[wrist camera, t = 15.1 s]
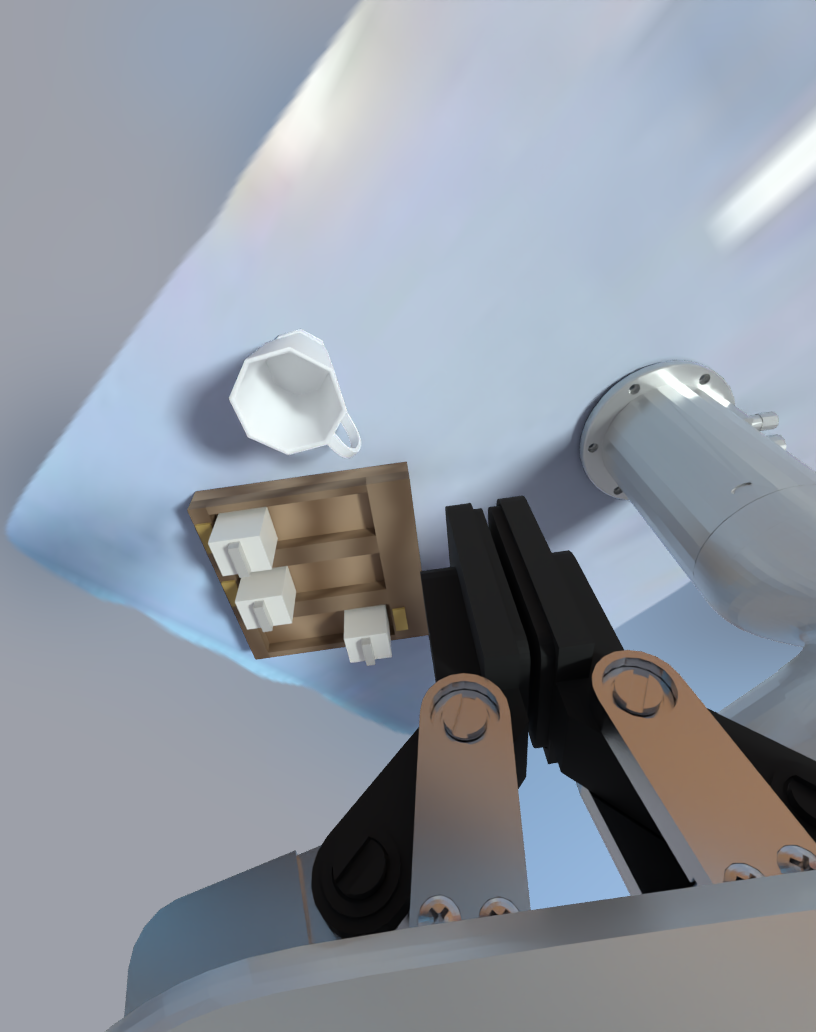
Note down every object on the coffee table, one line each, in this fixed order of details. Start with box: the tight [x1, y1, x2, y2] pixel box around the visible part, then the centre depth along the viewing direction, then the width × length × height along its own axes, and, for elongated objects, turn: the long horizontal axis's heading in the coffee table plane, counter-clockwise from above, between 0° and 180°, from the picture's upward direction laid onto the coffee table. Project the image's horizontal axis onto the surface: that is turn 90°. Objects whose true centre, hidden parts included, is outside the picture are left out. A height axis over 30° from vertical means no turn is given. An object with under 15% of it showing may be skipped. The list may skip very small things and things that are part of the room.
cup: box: [229, 329, 361, 458], centre depth 35 cm, size 7×10×8 cm
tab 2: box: [344, 605, 392, 666], centre depth 49 cm, size 4×4×5 cm
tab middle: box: [235, 566, 296, 632], centre depth 46 cm, size 4×4×5 cm
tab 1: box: [208, 507, 278, 578], centre depth 42 cm, size 4×4×5 cm
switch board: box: [187, 462, 429, 659], centre depth 48 cm, size 18×19×3 cm
